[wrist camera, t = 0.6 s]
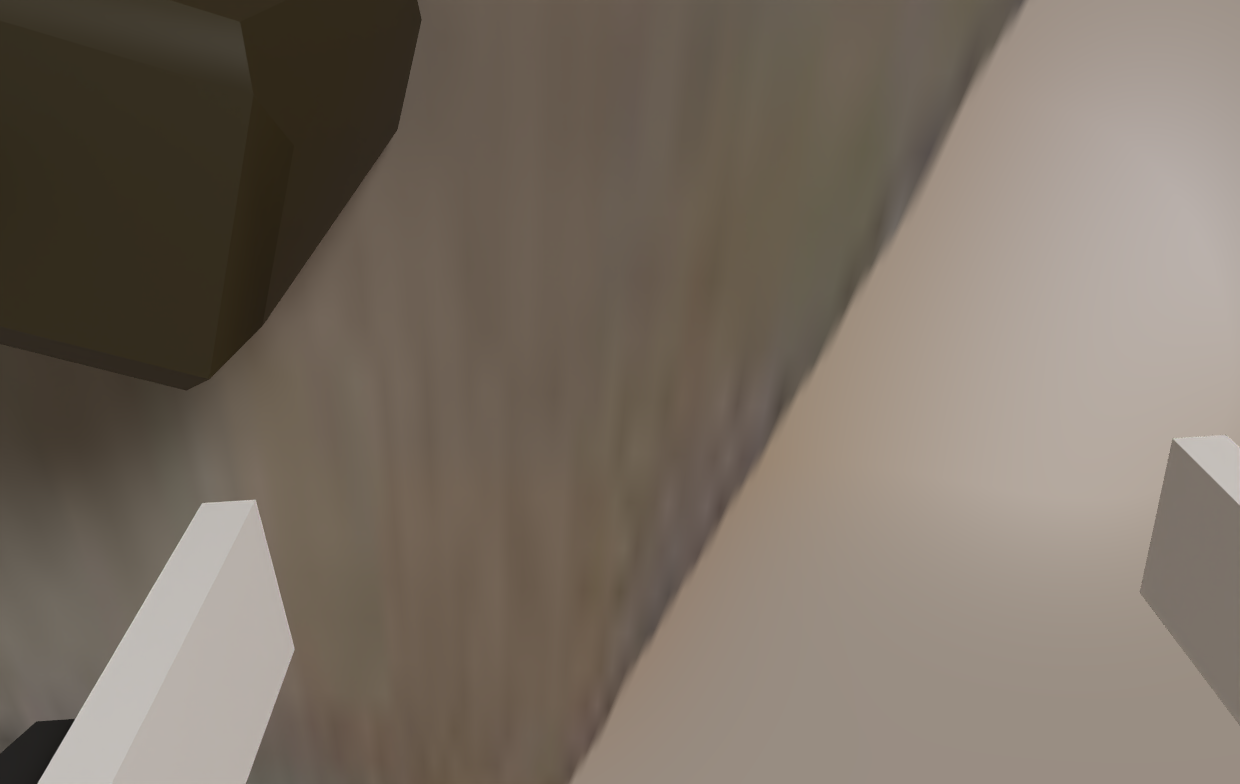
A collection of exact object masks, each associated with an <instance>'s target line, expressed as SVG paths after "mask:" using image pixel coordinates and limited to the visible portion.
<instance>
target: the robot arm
mask: <svg viewBox="0 0 1240 784" xmlns="http://www.w3.org/2000/svg"><path fill="white" fill-rule="evenodd" d="M1140 593H1141V595H1142V596H1143V597H1144V599H1145V600H1146V601H1147V602H1148V604H1149V605H1150V607H1151V608H1152V609H1153V611H1154V612H1155V613H1156V615H1157V616H1158V617H1159V619H1160V620H1161V621H1162V623H1163V624H1164V625H1165V627H1166V628H1167V629H1168V631H1169V632H1170V633H1171V635H1172V636H1173V637H1174V639H1175V640H1176V641H1177V643H1178V644H1179V645H1180V647H1181V648H1182V649H1183V650H1184V652H1185V653H1186V655H1187V656H1188V657H1189V659H1190V660H1191V661H1192V662H1193V664H1194V665H1195V667H1196V668H1197V669H1198V671H1199V672H1200V673H1201V675H1202V676H1203V677H1204V678H1205V680H1206V681H1207V682H1208V684H1209V685H1210V686H1211V688H1212V689H1213V690H1214V691H1215V693H1216V694H1217V696H1218V697H1219V698H1220V700H1221V701H1222V702H1223V704H1224V705H1225V706H1226V708H1227V709H1228V710H1229V712H1230V713H1231V714H1232V716H1233V717H1234V718H1235V720H1236V721H1237V722H1238V724H1239V725H1240V447H1239V446H1238V445H1237V444H1235V443H1234V442H1233V441H1232V440H1231V439H1230V438H1229V437H1228V436H1227V435H1219V436H1203V437H1188V438H1173V440H1172V444H1171V449H1170V453H1169V459H1168V463H1167V467H1166V472H1165V477H1164V481H1163V486H1162V491H1161V495H1160V500H1159V505H1158V510H1157V514H1156V519H1155V524H1154V528H1153V533H1152V538H1151V542H1150V547H1149V552H1148V557H1147V561H1146V566H1145V571H1144V575H1143V580H1142V585H1141V589H1140ZM293 652H294V645H293V641H292V637H291V633H290V630H289V626H288V622H287V618H286V614H285V610H284V607H283V603H282V599H281V595H280V591H279V587H278V584H277V580H276V576H275V572H274V568H273V565H272V561H271V557H270V553H269V549H268V545H267V542H266V538H265V534H264V530H263V526H262V522H261V519H260V515H259V511H258V507H257V503H256V500H243V501H228V502H213V503H202V504H201V506H200V508H199V509H198V511H197V513H196V514H195V516H194V518H193V520H192V521H191V523H190V525H189V526H188V528H187V530H186V531H185V533H184V535H183V537H182V538H181V540H180V542H179V543H178V545H177V547H176V548H175V550H174V552H173V554H172V555H171V557H170V559H169V560H168V562H167V564H166V566H165V567H164V569H163V571H162V572H161V574H160V576H159V577H158V579H157V581H156V583H155V584H154V586H153V588H152V589H151V591H150V593H149V594H148V596H147V598H146V600H145V601H144V603H143V605H142V606H141V608H140V610H139V612H138V613H137V615H136V617H135V618H134V620H133V622H132V623H131V625H130V627H129V629H128V630H127V632H126V634H125V635H124V637H123V639H122V640H121V642H120V644H119V646H118V647H117V649H116V651H115V652H114V654H113V656H112V657H111V659H110V661H109V663H108V664H107V666H106V668H105V669H104V671H103V673H102V675H101V676H100V678H99V680H98V681H97V683H96V685H95V686H94V688H93V690H92V692H91V693H90V695H89V697H88V698H87V700H86V702H85V703H84V705H83V707H82V709H81V710H80V712H79V714H78V715H77V717H76V719H68V720H53V721H38V722H36V723H34V724H33V725H32V726H31V727H30V728H29V729H28V730H27V731H25V732H24V733H23V734H22V735H21V736H20V737H19V738H17V739H16V740H15V741H14V742H13V743H12V744H11V745H10V746H8V747H7V748H6V749H5V750H4V751H3V752H2V753H1V754H0V784H246V781H247V779H248V776H249V773H250V770H251V768H252V765H253V762H254V759H255V757H256V754H257V751H258V748H259V746H260V743H261V740H262V737H263V735H264V732H265V729H266V726H267V724H268V721H269V718H270V715H271V713H272V710H273V707H274V704H275V702H276V699H277V696H278V693H279V691H280V688H281V685H282V682H283V680H284V677H285V674H286V671H287V669H288V666H289V663H290V660H291V658H292V655H293Z"/></svg>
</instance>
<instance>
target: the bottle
mask: <svg viewBox="0 0 1240 784" xmlns="http://www.w3.org/2000/svg"><path fill="white" fill-rule="evenodd" d="M420 24H421V16H420V11H419V6H418V2H417V0H0V344H3V345H7V346H11V347H15V348H19V349H23V350H27V351H31V352H35V353H39V354H43V355H47V356H51V357H55V358H59V359H63V360H67V361H71V362H75V363H79V364H83V365H87V366H91V367H95V368H99V369H103V370H107V371H111V372H115V373H119V374H123V375H127V376H131V377H135V378H139V379H143V380H147V381H151V382H155V383H159V384H163V385H167V386H171V387H175V388H179V389H183V390H188V389H190V388H192V387H194V386H196V385H198V384H200V383H202V382H205V381H207V380H209V379H210V378H211V377H212V376H213V375H214V374H215V373H216V372H217V371H218V370H219V369H220V368H221V367H222V366H223V365H224V364H225V363H226V362H227V361H228V360H229V359H230V358H231V357H232V356H233V355H234V354H235V353H236V352H237V351H238V350H239V349H240V348H241V347H242V346H243V345H244V344H245V343H246V342H247V341H248V340H249V339H250V338H251V337H252V336H253V335H254V334H255V333H256V332H257V331H258V330H259V329H260V328H261V327H262V326H263V324H264V323H265V321H266V320H267V318H268V317H269V315H270V314H271V312H272V311H273V310H274V308H275V307H276V305H277V304H278V302H279V301H280V299H281V298H282V297H283V295H284V294H285V292H286V291H287V289H288V288H289V286H290V285H291V283H292V282H293V281H294V279H295V278H296V276H297V275H298V273H299V272H300V270H301V269H302V267H303V266H304V265H305V263H306V262H307V260H308V259H309V257H310V256H311V254H312V253H313V252H314V250H315V249H316V247H317V246H318V244H319V243H320V241H321V240H322V238H323V237H324V236H325V234H326V233H327V231H328V230H329V228H330V227H331V225H332V224H333V222H334V221H335V220H336V218H337V217H338V215H339V214H340V212H341V211H342V209H343V208H344V207H345V205H346V204H347V202H348V201H349V199H350V198H351V196H352V195H353V193H354V192H355V191H356V189H357V188H358V186H359V185H360V183H361V182H362V180H363V179H364V177H365V176H366V175H367V173H368V172H369V170H370V169H371V167H372V166H373V164H374V163H375V162H376V160H377V159H378V157H379V156H380V154H381V153H382V151H383V150H384V148H385V147H386V146H387V144H388V143H389V141H390V140H391V138H392V137H393V135H394V134H395V132H396V131H397V129H398V124H399V120H400V115H401V111H402V106H403V102H404V97H405V93H406V88H407V83H408V79H409V74H410V70H411V65H412V61H413V56H414V52H415V47H416V42H417V38H418V33H419V29H420Z"/></svg>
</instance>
